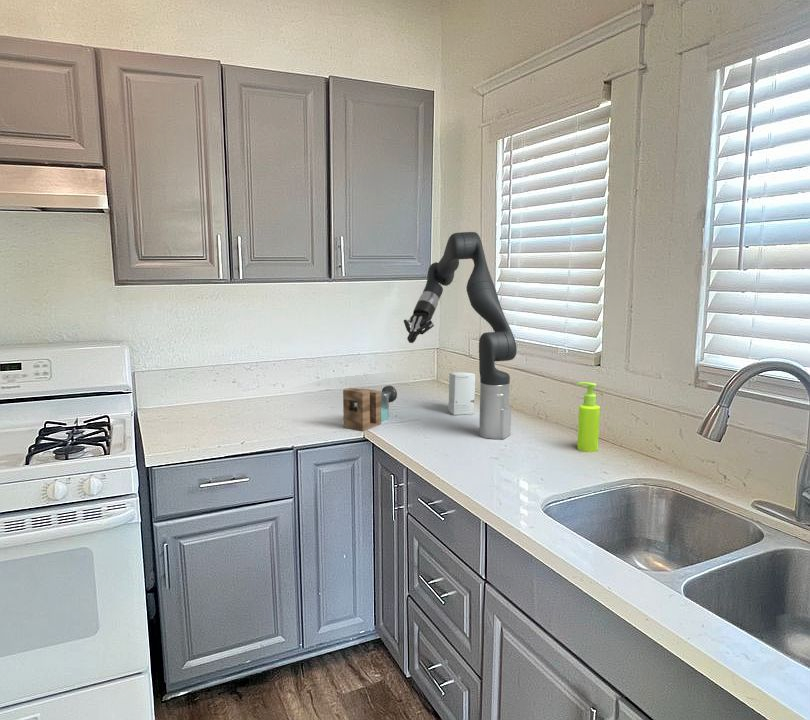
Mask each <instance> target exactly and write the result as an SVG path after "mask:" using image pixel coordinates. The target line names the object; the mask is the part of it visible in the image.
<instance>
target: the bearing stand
mask: <svg viewBox="0 0 810 720" xmlns="http://www.w3.org/2000/svg"><path fill="white" fill-rule="evenodd" d="M381 392H382V390H374V389H368V388H356V387H348V388H344V389H343V390H342V394H343V395H342V403H343V428H345V429H350V430H354V431H359V432H360V431H361V432H365V431H367V430H371V429H372V428H375V427H377V426H381V425H382V422H381ZM370 397H371V405H370ZM353 401H357V410H355V409H353V408H352V405H351V404H352V402H353Z"/></svg>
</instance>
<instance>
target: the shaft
mask: <svg viewBox="0 0 810 720" xmlns="http://www.w3.org/2000/svg"><path fill="white" fill-rule="evenodd" d="M397 398H398V391H397V389H396V388H395V387H394V386H392V385H386V386H384V387H383V388H382V389H381V408H385V409H388V418H389V415H390V413H389V411H390V409H389V406H390V405H389V403H392V402H394V401H396V400H397ZM351 405H352V408H353V409H355V410H357V401H353V402H352V404H351ZM370 405H371V397H370Z"/></svg>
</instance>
